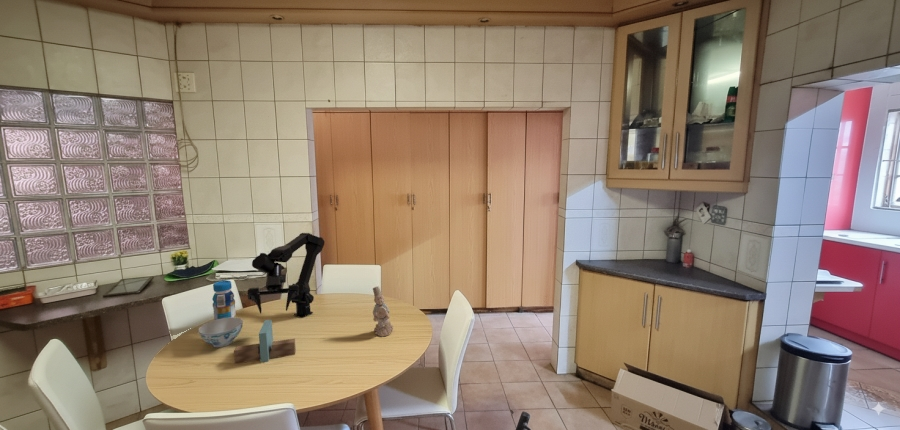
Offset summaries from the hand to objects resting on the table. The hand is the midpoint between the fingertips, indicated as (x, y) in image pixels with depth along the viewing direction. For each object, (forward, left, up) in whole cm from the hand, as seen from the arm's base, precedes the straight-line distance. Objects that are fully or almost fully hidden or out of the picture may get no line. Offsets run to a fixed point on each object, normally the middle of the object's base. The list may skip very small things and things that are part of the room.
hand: (273, 311), depth 141 cm
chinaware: (-18, -11, -13) cm, 25 cm away
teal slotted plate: (+5, -7, -13) cm, 16 cm away
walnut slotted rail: (+7, -8, -13) cm, 17 cm away
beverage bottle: (-34, -2, -13) cm, 37 cm away
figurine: (+31, +30, -13) cm, 45 cm away
